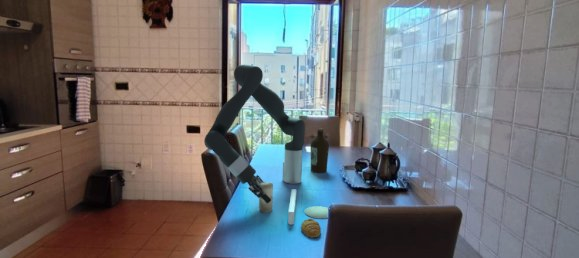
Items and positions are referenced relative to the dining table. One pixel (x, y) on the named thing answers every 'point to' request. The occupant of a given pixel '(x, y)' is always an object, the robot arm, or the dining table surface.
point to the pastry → (311, 228)
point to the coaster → (317, 212)
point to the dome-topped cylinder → (268, 190)
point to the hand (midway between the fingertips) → (270, 199)
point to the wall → (292, 207)
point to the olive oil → (319, 153)
